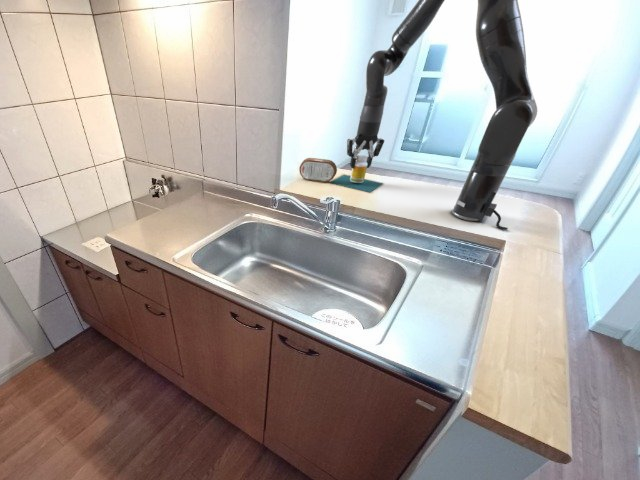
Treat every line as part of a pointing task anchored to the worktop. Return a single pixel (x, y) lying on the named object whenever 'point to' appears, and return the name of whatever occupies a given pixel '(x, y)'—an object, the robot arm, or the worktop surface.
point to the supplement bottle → (359, 169)
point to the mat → (363, 186)
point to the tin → (318, 169)
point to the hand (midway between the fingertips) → (359, 167)
